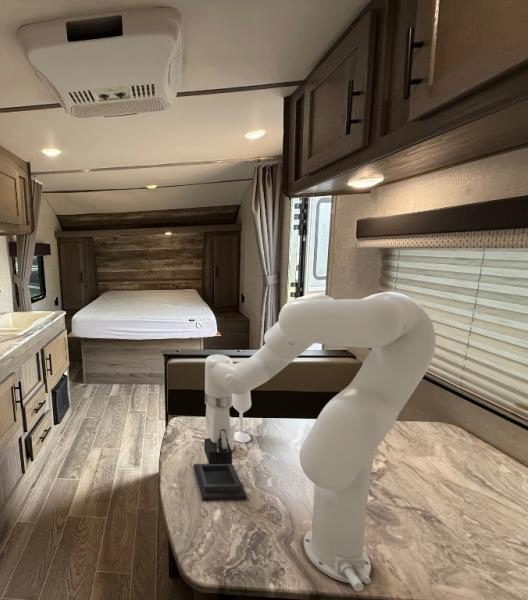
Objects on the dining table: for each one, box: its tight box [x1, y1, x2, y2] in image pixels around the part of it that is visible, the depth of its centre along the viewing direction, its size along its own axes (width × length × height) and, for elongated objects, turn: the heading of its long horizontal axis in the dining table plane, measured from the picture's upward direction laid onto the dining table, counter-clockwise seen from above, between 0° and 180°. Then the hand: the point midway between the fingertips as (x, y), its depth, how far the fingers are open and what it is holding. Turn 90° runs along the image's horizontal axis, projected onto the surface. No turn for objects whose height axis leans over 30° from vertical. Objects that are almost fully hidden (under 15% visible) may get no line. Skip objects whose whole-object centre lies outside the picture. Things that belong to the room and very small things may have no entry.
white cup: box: [228, 416, 236, 451], centre depth 113 cm, size 8×8×10 cm
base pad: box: [193, 463, 247, 501], centre depth 97 cm, size 14×12×2 cm
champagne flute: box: [232, 390, 252, 443], centre depth 118 cm, size 7×7×24 cm
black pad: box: [203, 437, 233, 465], centre depth 96 cm, size 6×6×4 cm
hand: (217, 455), depth 96 cm, fingers closed on black pad, 6 cm apart
